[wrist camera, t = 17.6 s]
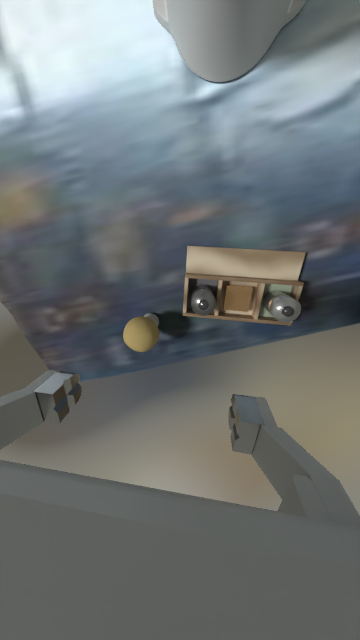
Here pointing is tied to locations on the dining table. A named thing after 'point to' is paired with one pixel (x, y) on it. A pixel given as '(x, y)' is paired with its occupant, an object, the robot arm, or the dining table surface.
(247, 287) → the brown square tile
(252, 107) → the dining table surface
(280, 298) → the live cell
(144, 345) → the light bulb
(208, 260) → the wooden compartment tray
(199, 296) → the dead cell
